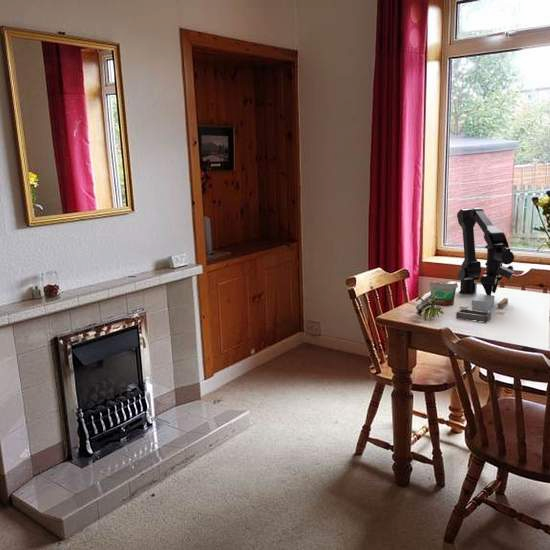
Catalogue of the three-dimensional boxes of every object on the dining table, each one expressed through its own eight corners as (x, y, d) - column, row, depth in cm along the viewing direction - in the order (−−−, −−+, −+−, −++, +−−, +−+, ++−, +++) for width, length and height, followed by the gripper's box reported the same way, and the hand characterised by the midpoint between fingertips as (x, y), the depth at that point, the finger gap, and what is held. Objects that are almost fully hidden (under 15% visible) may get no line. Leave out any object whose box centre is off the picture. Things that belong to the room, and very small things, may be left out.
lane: (471, 304, 243) (472, 300, 243) (478, 299, 252) (478, 294, 252) (501, 308, 236) (501, 304, 236) (507, 302, 245) (507, 298, 245)
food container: (426, 306, 243) (427, 283, 241) (427, 302, 248) (428, 280, 246) (456, 308, 239) (457, 285, 237) (456, 304, 245) (458, 282, 242)
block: (471, 311, 234) (472, 300, 233) (479, 305, 243) (480, 293, 242) (486, 313, 230) (487, 302, 229) (493, 306, 240) (494, 295, 239)
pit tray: (456, 318, 225) (456, 312, 224) (460, 314, 230) (460, 308, 229) (486, 322, 218) (487, 316, 217) (490, 318, 223) (491, 312, 222)
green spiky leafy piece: (419, 327, 231) (417, 300, 236) (446, 325, 227) (443, 297, 232) (414, 319, 221) (412, 291, 226) (442, 316, 217) (440, 288, 222)
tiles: (459, 308, 238) (459, 306, 238) (461, 306, 240) (461, 304, 240) (503, 314, 228) (503, 312, 228) (505, 312, 230) (505, 310, 230)
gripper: (508, 265, 229) (505, 302, 233) (518, 258, 244) (515, 292, 248) (480, 263, 236) (478, 298, 239) (491, 256, 251) (489, 289, 254)
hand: (491, 295), depth 245 cm, fingers open, 8 cm apart
